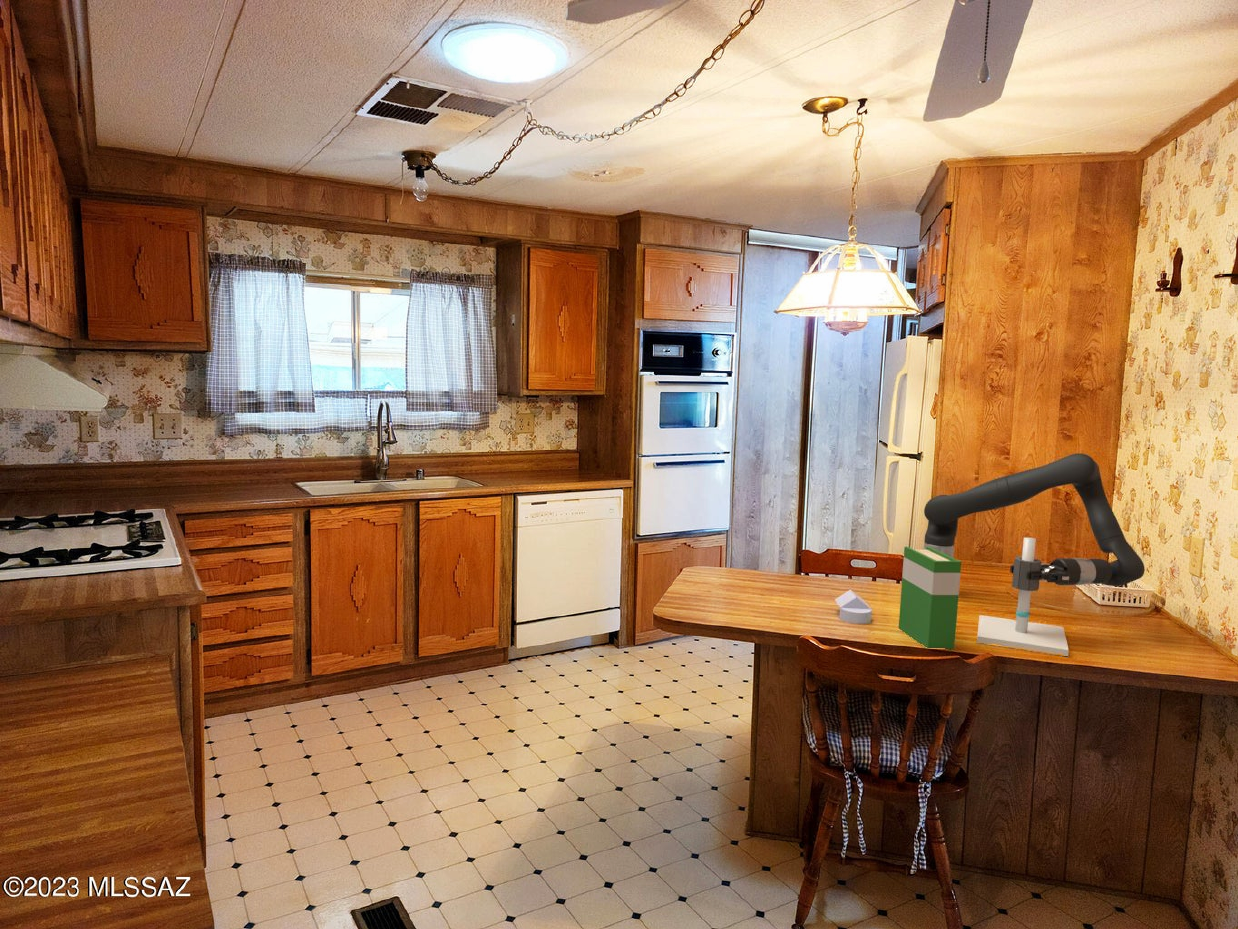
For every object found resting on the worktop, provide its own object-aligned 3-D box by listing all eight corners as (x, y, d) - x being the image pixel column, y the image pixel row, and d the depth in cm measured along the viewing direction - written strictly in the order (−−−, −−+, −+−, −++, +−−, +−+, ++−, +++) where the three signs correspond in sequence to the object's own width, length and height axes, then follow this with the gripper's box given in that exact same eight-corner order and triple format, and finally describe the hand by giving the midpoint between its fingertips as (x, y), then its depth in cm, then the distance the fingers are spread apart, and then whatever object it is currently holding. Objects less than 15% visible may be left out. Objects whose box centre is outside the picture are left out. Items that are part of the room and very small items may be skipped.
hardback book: (898, 628, 234) (904, 546, 231) (923, 628, 235) (929, 546, 232) (927, 649, 217) (934, 561, 214) (954, 649, 218) (961, 561, 215)
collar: (1012, 588, 225) (1014, 560, 224) (1011, 583, 231) (1014, 555, 230) (1039, 592, 222) (1042, 563, 221) (1038, 586, 228) (1041, 558, 227)
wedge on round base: (834, 610, 250) (842, 623, 238) (835, 588, 250) (844, 600, 237) (863, 611, 250) (874, 624, 237) (865, 590, 249) (875, 602, 236)
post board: (976, 643, 223) (985, 541, 220) (978, 621, 243) (986, 527, 239) (1067, 657, 214) (1078, 551, 210) (1062, 633, 234) (1072, 536, 230)
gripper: (1056, 552, 235) (1003, 553, 232) (1093, 564, 221) (1037, 565, 218) (1053, 578, 236) (1001, 579, 233) (1090, 591, 222) (1035, 592, 219)
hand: (1019, 572), depth 226 cm, fingers closed on collar, 6 cm apart
